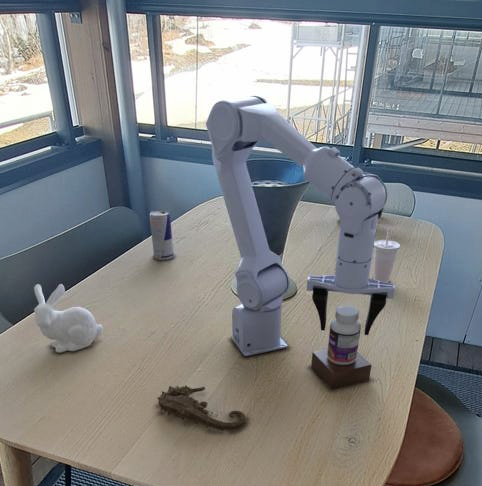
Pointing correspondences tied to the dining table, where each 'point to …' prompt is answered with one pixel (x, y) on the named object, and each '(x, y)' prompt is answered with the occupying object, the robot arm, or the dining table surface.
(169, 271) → the dining table surface
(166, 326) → the dining table surface
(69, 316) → the rabbit
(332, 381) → the walnut block
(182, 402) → the seahorse
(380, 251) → the smoothie
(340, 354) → the pill bottle
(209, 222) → the dining table surface
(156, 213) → the energy drink
